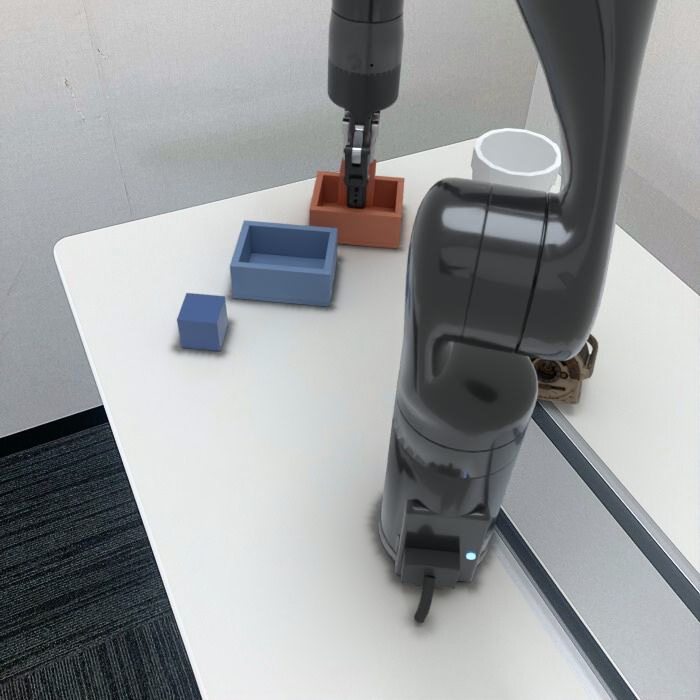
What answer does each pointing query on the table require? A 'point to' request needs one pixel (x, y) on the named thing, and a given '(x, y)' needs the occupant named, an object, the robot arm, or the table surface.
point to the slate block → (202, 321)
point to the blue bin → (284, 263)
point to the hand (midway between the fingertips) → (357, 194)
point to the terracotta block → (370, 186)
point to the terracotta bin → (359, 212)
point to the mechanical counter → (565, 375)
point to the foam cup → (516, 159)
